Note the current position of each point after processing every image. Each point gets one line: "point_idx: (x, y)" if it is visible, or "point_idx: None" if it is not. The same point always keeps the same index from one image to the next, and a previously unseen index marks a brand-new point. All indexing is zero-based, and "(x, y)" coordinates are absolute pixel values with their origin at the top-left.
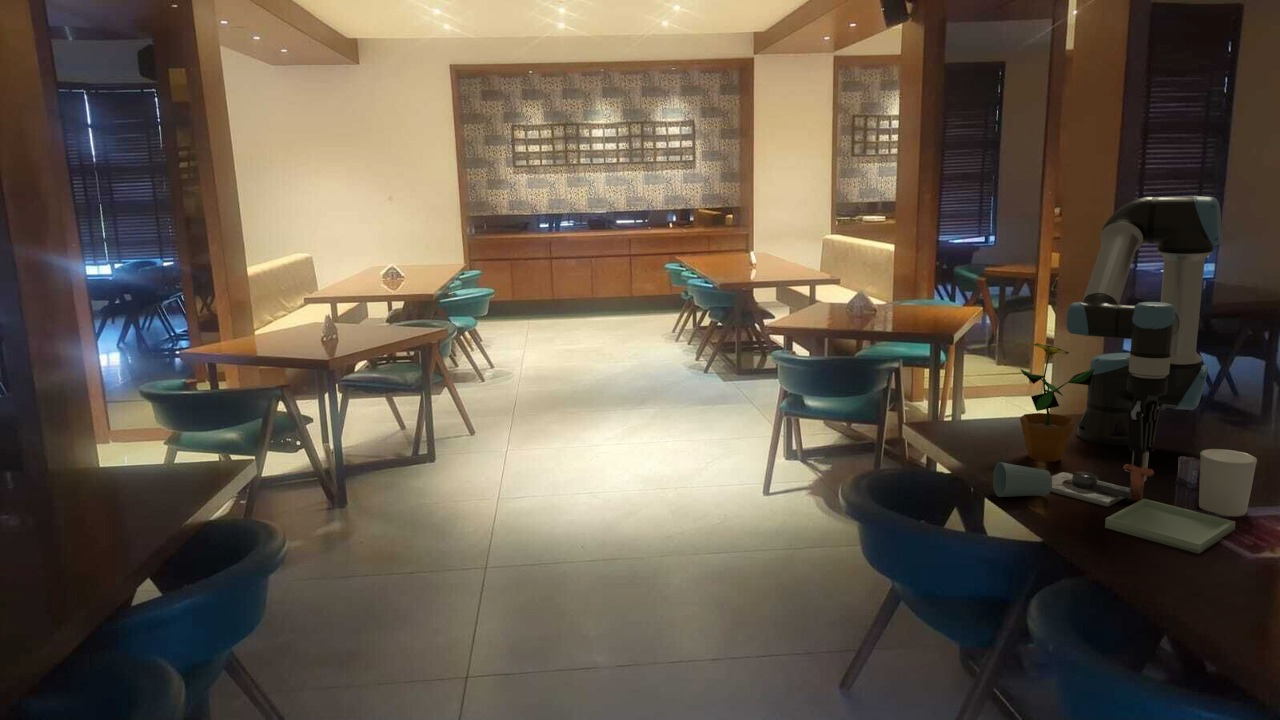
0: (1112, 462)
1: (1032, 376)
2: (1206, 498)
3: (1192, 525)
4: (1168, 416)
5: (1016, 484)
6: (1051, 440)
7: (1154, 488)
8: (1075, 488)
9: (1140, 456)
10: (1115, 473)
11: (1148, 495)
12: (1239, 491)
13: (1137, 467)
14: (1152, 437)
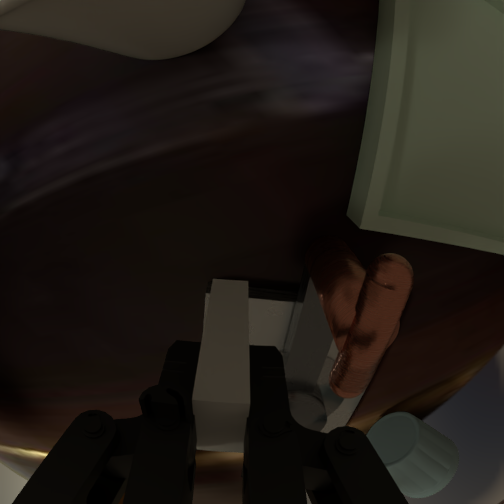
0: (11, 371)
1: None
2: (237, 2)
3: (461, 48)
4: None
5: (451, 445)
6: (122, 499)
7: (87, 247)
8: (328, 401)
9: (288, 402)
10: (63, 359)
11: (176, 240)
12: None
13: (384, 348)
14: (89, 478)
